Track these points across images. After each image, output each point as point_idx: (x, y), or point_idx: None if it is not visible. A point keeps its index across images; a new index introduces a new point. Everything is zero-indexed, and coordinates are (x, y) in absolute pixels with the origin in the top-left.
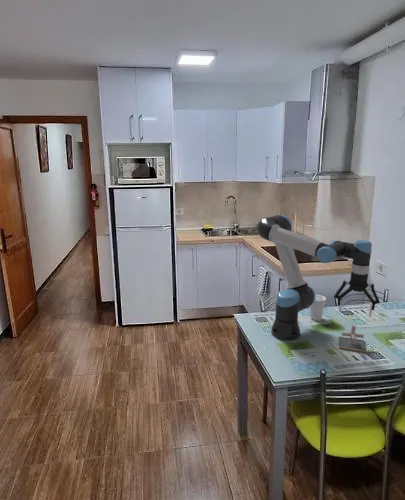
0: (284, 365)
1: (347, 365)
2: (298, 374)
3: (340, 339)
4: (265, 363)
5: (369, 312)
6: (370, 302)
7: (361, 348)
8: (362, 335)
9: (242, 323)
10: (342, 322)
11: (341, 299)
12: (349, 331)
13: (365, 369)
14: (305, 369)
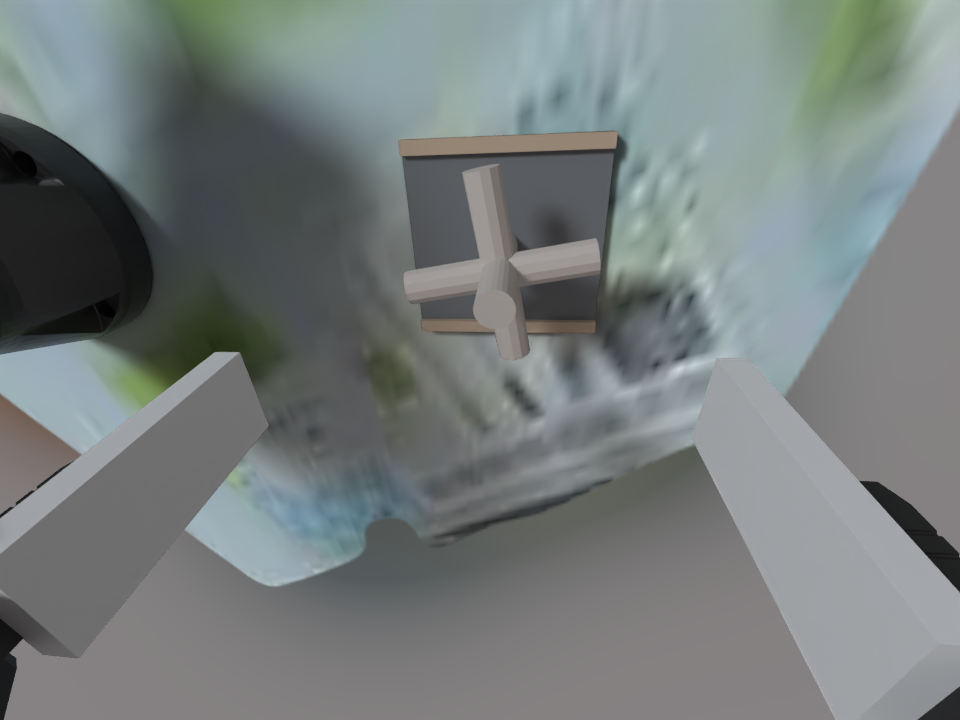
0: (244, 523)
1: (482, 469)
2: (313, 555)
3: (417, 193)
4: None
5: (726, 482)
6: (930, 657)
7: (572, 289)
8: (587, 274)
9: None
10: None
11: (26, 622)
12: (469, 207)
13: (565, 478)
14: (323, 528)
